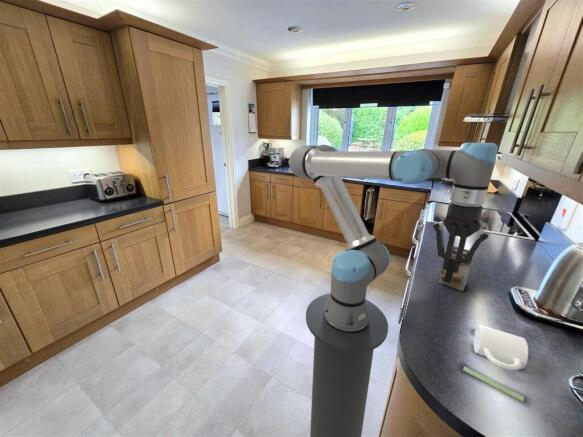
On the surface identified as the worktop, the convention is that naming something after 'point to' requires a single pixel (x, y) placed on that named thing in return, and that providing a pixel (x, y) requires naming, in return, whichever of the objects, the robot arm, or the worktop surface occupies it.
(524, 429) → the worktop surface
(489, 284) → the worktop surface
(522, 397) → the strips
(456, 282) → the coffee box
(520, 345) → the mug
